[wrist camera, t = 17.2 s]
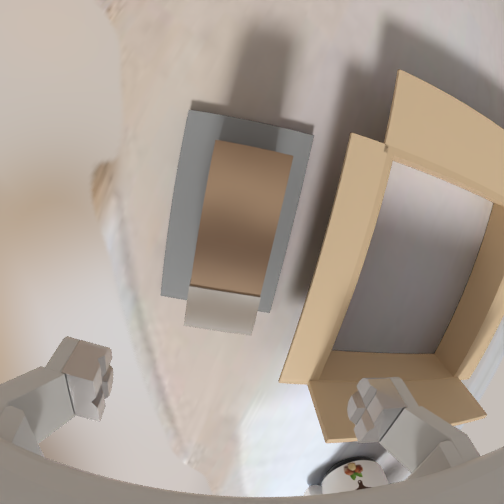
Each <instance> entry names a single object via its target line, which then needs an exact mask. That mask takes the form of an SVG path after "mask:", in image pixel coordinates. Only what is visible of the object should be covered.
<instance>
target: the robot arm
mask: <svg viewBox="0 0 504 504" xmlns="http://www.w3.org/2000/svg"><path fill="white" fill-rule="evenodd" d="M111 360H112V352H111V349H110V348H108V347H104V346H100V345H97V344H93V343H90V342H86V341H83V340H78V339H74V338H71V337H68V336H67V337H65V338H64V339H63V341H62V342H61V343H60V345H59V346H58V348H57V349H56V351H55V353H54V354H53V356H52V357H51V359H50V360H49V362H48V363H47V365H46V367H45V368H44V367H39V368H36V369H34V370H32V371H30V372H27V373H25V374H23V375H21V376H18V377H16V378H14V379H12V380H9V381H7V382H5V383H3V384H0V504H504V447H502V448H499V449H497V450H495V451H492V452H490V453H488V454H485V455H483V456H480V455H479V453H478V452H477V450H476V448H475V447H474V445H473V443H472V442H471V440H470V439H469V437H468V436H467V434H465V433H464V432H462V431H460V430H459V429H457V428H456V427H454V426H452V425H451V424H449V423H448V422H446V421H444V420H443V419H441V418H440V417H438V416H437V415H435V414H434V413H432V412H430V411H429V410H427V409H426V408H424V407H423V406H418V404H417V402H416V401H415V399H414V398H413V396H412V394H411V393H410V391H409V390H408V388H407V386H406V385H405V383H404V382H403V380H402V379H401V378H400V377H387V378H362V379H361V380H360V381H359V383H358V385H357V389H358V391H357V392H355V393H354V394H353V395H351V397H350V399H349V401H348V407H347V412H348V417H349V419H350V421H352V422H353V423H354V424H355V427H354V429H353V430H354V432H355V435H356V437H357V440H358V442H359V444H360V443H373V442H379V443H380V444H381V445H382V446H383V447H384V448H385V449H386V450H387V451H388V452H389V453H390V454H391V455H392V456H393V457H394V458H396V459H397V460H398V461H399V462H400V463H401V464H402V465H403V466H404V467H405V468H406V469H407V470H408V471H410V472H411V474H410V475H409V476H408V477H407V478H406V479H405V480H404V481H400V482H396V483H392V484H387V485H382V486H377V487H371V488H366V489H360V490H353V491H346V492H339V493H330V494H320V495H309V496H292V497H232V496H216V495H204V494H194V493H186V492H177V491H171V490H164V489H159V488H153V487H148V486H143V485H138V484H132V483H128V482H124V481H120V480H115V479H112V478H108V477H104V476H100V475H96V474H93V473H90V472H87V471H83V470H80V469H77V468H74V467H71V466H68V465H65V464H62V463H59V462H57V461H54V460H51V459H49V458H46V457H44V455H43V453H42V451H41V449H40V447H39V445H38V443H40V442H41V441H42V440H44V439H45V438H46V437H48V436H49V435H51V434H52V433H53V432H55V431H56V430H57V429H59V428H60V427H61V426H63V425H64V424H65V423H67V422H68V421H69V420H71V419H72V418H73V417H75V415H77V416H80V417H84V418H87V419H91V420H95V421H100V420H101V417H102V414H103V412H104V409H105V400H104V399H105V398H107V397H108V396H109V395H110V392H111V388H112V383H113V368H112V367H111V366H110V362H111Z"/></svg>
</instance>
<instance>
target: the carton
mask: <svg viewBox="0 0 504 504" xmlns="http://www.w3.org/2000/svg"><path fill="white" fill-rule="evenodd" d="M392 161H395V162H398V163H401V164H404V165H406V166H409V167H412V168H414V169H417V170H420V171H422V172H425V173H427V174H430V175H432V176H435V177H437V178H440V179H442V180H445V181H447V182H449V183H452V184H454V185H456V186H459V187H461V188H463V189H466V190H468V191H470V192H472V193H474V194H477V195H479V196H481V197H483V198H485V199H487V200H489V201H491V202H493V203H494V204H493V208H492V211H491V215H490V218H489V222H488V225H487V229H486V232H485V235H484V238H483V241H482V244H481V247H480V250H479V253H478V256H477V259H476V262H475V264H474V267H473V270H472V272H471V275H470V277H469V280H468V283H467V285H466V287H465V290H464V292H463V295H462V297H461V299H460V302H459V304H458V306H457V308H456V311H455V313H454V315H453V317H452V319H451V322H450V324H449V326H448V328H447V330H446V332H445V334H444V336H443V338H442V340H441V342H440V344H439V346H438V348H437V350H436V351H435V353H434V354H403V353H371V352H350V351H334V350H332V347H333V345H334V342H335V340H336V337H337V335H338V332H339V330H340V327H341V325H342V322H343V320H344V317H345V314H346V312H347V309H348V306H349V304H350V301H351V298H352V295H353V293H354V290H355V287H356V284H357V281H358V278H359V275H360V272H361V269H362V266H363V263H364V260H365V257H366V254H367V251H368V248H369V245H370V242H371V238H372V235H373V232H374V228H375V225H376V222H377V218H378V215H379V211H380V208H381V204H382V200H383V197H384V193H385V189H386V185H387V182H388V178H389V174H390V170H391V165H392ZM503 315H504V129H502V128H501V127H500V126H498V125H497V124H495V123H494V122H492V121H491V120H489V119H488V118H486V117H485V116H483V115H482V114H480V113H479V112H477V111H476V110H474V109H473V108H471V107H469V106H468V105H466V104H464V103H463V102H461V101H459V100H458V99H456V98H454V97H453V96H451V95H449V94H447V93H445V92H444V91H442V90H440V89H438V88H436V87H434V86H433V85H431V84H429V83H427V82H425V81H423V80H421V79H419V78H417V77H415V76H413V75H411V74H409V73H407V72H404V71H402V70H400V69H399V70H398V71H397V77H396V83H395V89H394V94H393V100H392V105H391V110H390V115H389V120H388V125H387V130H386V135H385V139H384V143H381V142H378V141H375V140H373V139H370V138H367V137H364V136H361V135H358V134H355V133H350V137H349V141H348V145H347V150H346V154H345V158H344V163H343V167H342V171H341V175H340V179H339V183H338V187H337V191H336V195H335V199H334V203H333V206H332V210H331V214H330V218H329V221H328V225H327V229H326V232H325V236H324V239H323V243H322V247H321V250H320V254H319V257H318V260H317V264H316V267H315V271H314V274H313V277H312V281H311V284H310V287H309V290H308V294H307V297H306V300H305V303H304V306H303V310H302V313H301V316H300V319H299V322H298V325H297V328H296V331H295V334H294V337H293V340H292V343H291V346H290V349H289V352H288V355H287V358H286V361H285V364H284V366H283V369H282V372H281V375H280V378H279V380H278V381H279V383H289V384H307V385H308V388H309V391H310V395H311V398H312V401H313V404H314V407H315V410H316V414H317V417H318V420H319V423H320V426H321V429H322V433H323V436H324V439H325V442H326V443H339V442H353V441H358V440H357V437H356V435H355V432H354V430H353V429H354V427H355V424H354V423H353V422H352V421H350V419H349V417H348V412H347V407H348V401H349V399H350V397H351V395H353V394H354V393H355V392H357V391H358V389H357V385H358V383H359V381H360V380H361V379H362V378H387V377H400V378H401V379H402V380H403V382H404V383H405V385H406V386H407V388H408V390H409V391H410V393H411V394H412V396H413V398H414V399H415V401H416V402H417V404H418V406H423V407H424V408H426V409H427V410H429V411H430V412H432V413H434V414H435V415H437V416H438V417H440V418H441V419H443V420H444V421H446V422H448V423H449V424H451V425H452V426H456V425H460V424H464V423H468V422H472V421H475V420H479V419H483V418H485V417H486V416H487V414H486V412H485V411H484V410H483V408H482V407H481V406H480V405H479V403H478V402H477V401H476V399H475V398H474V397H473V396H472V394H471V393H470V392H469V391H468V389H467V388H466V387H465V386H464V384H463V383H462V382H461V381H460V380H466V379H469V378H470V377H471V375H472V373H473V372H474V370H475V368H476V367H477V365H478V363H479V361H480V360H481V358H482V356H483V354H484V353H485V351H486V349H487V347H488V345H489V343H490V342H491V340H492V338H493V336H494V334H495V332H496V330H497V328H498V326H499V324H500V322H501V320H502V318H503Z"/></svg>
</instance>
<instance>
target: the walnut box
mask: <svg viewBox="0 0 504 504" xmlns="http://www.w3.org/2000/svg"><path fill="white" fill-rule="evenodd" d="M293 157H294V156H292V155H288V154H284V153H280V152H275V151H271V150H266V149H262V148H257V147H252V146H247V145H242V144H237V143H232V142H226V141H221V140H215V145H214V150H213V155H212V160H211V165H210V170H209V175H208V180H207V186H206V191H205V197H204V202H203V208H202V214H201V219H200V225H199V231H198V237H197V244H196V250H195V256H194V263H193V269H192V276H191V280H190V285H189V291H188V298H187V306H186V313H185V321H184V326H189V327H195V328H202V329H208V330H215V331H221V332H228V333H235V334H243V335H252V331H253V327H254V323H255V319H256V315H257V311H258V307H259V303H260V299H261V296H260V295H261V291H262V287H263V283H264V279H265V275H266V270H267V266H268V262H269V258H270V254H271V250H272V246H273V242H274V238H275V233H276V229H277V225H278V221H279V217H280V212H281V208H282V204H283V200H284V195H285V191H286V187H287V183H288V178H289V174H290V170H291V165H292V161H293Z"/></svg>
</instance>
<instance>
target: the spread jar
mask: <svg viewBox="0 0 504 504" xmlns="http://www.w3.org/2000/svg"><path fill="white" fill-rule="evenodd" d="M387 484H389V483H388V480H387V478H386V476H385V473H384V471H383V469H382V467H381V466H380V465H379V464H378V463H377V462H376V461H374V460H372V459H370V458H366V457H353V458H349V459H346V460H343V461H341V462H339V463H337V464H336V465H334V466H333V467H332V468H331V469H330V470H329V471H328V472H327V473H326V475H325V477H324V478H323V481H322V486H319V485H311V486H309V487H308V489H307V490H306V491H305V492H304V496H309V495H320V494H330V493H339V492H346V491H353V490H360V489H366V488H371V487H377V486H382V485H387Z"/></svg>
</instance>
